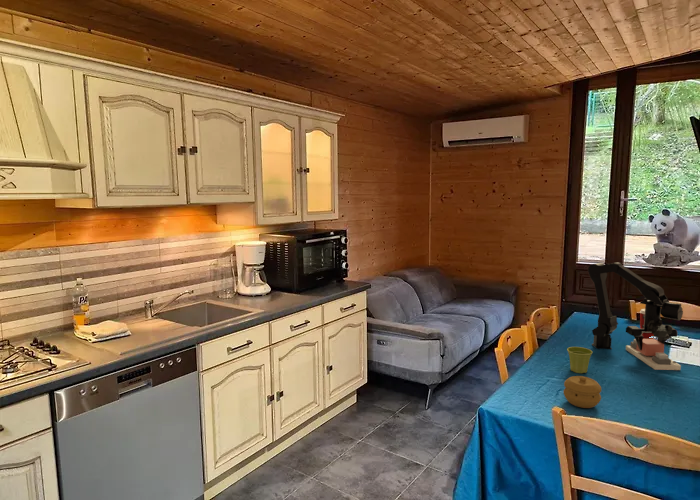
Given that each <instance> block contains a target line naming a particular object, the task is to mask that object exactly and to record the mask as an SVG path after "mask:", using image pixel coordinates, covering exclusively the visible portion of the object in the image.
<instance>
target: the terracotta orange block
mask: <svg viewBox="0 0 700 500" xmlns="http://www.w3.org/2000/svg"><path fill="white" fill-rule="evenodd" d="M657 340H658V339H655V338H653V339H643V342H642V350H640V349H639V347H638V344H637V347H636V350H638V351H639V352H641V353H642V354H644V355H645V356H656V353H665V343H664V344H663V343H661V342H659V341H657Z"/></svg>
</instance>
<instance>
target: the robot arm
mask: <svg viewBox="0 0 700 500" xmlns="http://www.w3.org/2000/svg"><path fill="white" fill-rule="evenodd" d="M587 273H588V276H589V278H590V280H591V281H592V282H593V285H594V290H595V295H596V297H595V298H596V300H597V301H596V302H597V307H598V318H597V326H596V327H595V328H594V329H592V330H591V333H592V335H593V343H591V346H593V347H594V348H596V349H597V350H612V340H613V339H612V337H611V335H612V333H613V332H614V331H615V330H616V329H617V328H618V325H619V322H618V318H617V315H613V313H612V312H611V307H610V301H609V294H608V291H607V283H606V280H607V277H608V273H615V274H616V275H618V276H619V277H621V278H623V280H625V281H627V282H628V283H630V284H631V285H632V286H633V287H635V288H636V289H637V290H638V291H639V292H640V294H641V295H642V296H643V297H644V299H643V300H641V301H639V303H640V304H641V305H645V306H644V309H645V316H643V318H644V325H642V327H643V328H644V329H640V327H638V326H636V325H627V326H626V328H625V333H627V334H629V335H630V336H633V337H634V339H636V342H637V344H638V347H639V349H640V350H642V342H643V338H644V336H642V333H653V335H654V337H655V338H657V339H656V340H657V341H659V342H661V343H663V344H664V345H665V343H666V341H668V340H669V339H672V338H673V337H678V330H677V329H675V328H673V326H672V325H670V324H663V319H662V318H661V316H662V317H663V318H665V319H670V320H675V321H681V320H682V318H683V316H684V315H683V314H684V311H683V308H682V304H681V303H679V302H678V303H675V302H670V300H669V299H668V297H667V296H666V294H665V290H664V288H662V287H661V286H660V285H658V284H655V283H653V282H650V281H648V280H645V278H644V279H643V278H642V277H641V276H640V275H638V274H637V273H636V272H635V273H634V272H633V271H632V270H630V269H629V268H628V267H626V266H624V265H623V264H622V263H621V262H612V263H605V264H604V263H603V262H596V263H593V264H590V265H589V266H588V267H587Z"/></svg>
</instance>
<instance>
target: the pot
mask: <svg viewBox="0 0 700 500" xmlns="http://www.w3.org/2000/svg"><path fill="white" fill-rule="evenodd" d="M563 387H564V389H563V392H562V393H563V396H564V397H565V399H566V400H567V402H568V403H569V404H571V405H572V406H575V407H577V408H582V409H592V408H594V407H596V406H597V405H598V404H599V403H600V401H602V396H601V393H602V386H601V385H600V384H599V383H598V381H597V380H595V379H594V378H591V377H589V376H583V375H576V376H575V375H573V376H570V377H568V378H567V379H565V381H564V382H563Z"/></svg>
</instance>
